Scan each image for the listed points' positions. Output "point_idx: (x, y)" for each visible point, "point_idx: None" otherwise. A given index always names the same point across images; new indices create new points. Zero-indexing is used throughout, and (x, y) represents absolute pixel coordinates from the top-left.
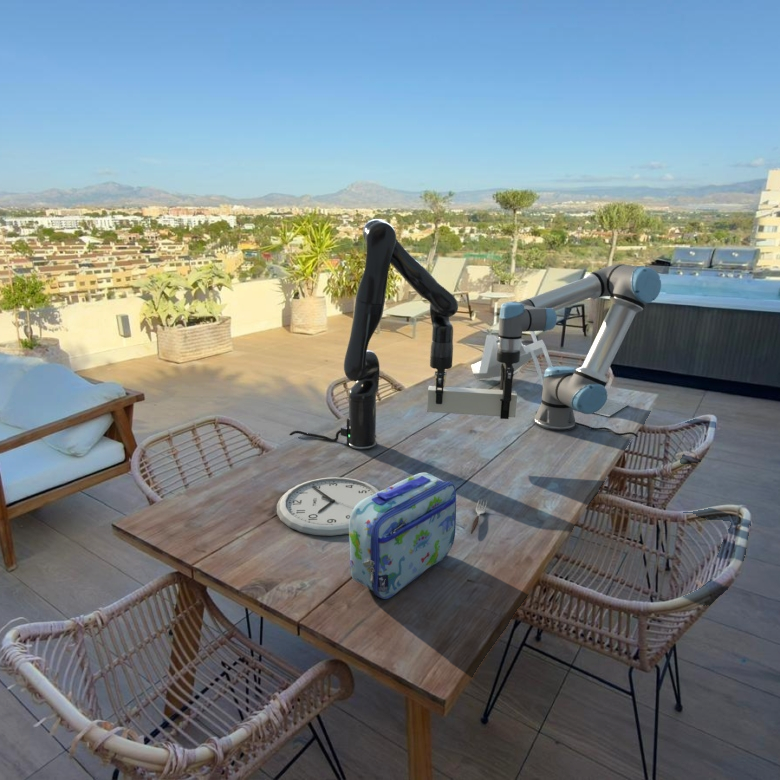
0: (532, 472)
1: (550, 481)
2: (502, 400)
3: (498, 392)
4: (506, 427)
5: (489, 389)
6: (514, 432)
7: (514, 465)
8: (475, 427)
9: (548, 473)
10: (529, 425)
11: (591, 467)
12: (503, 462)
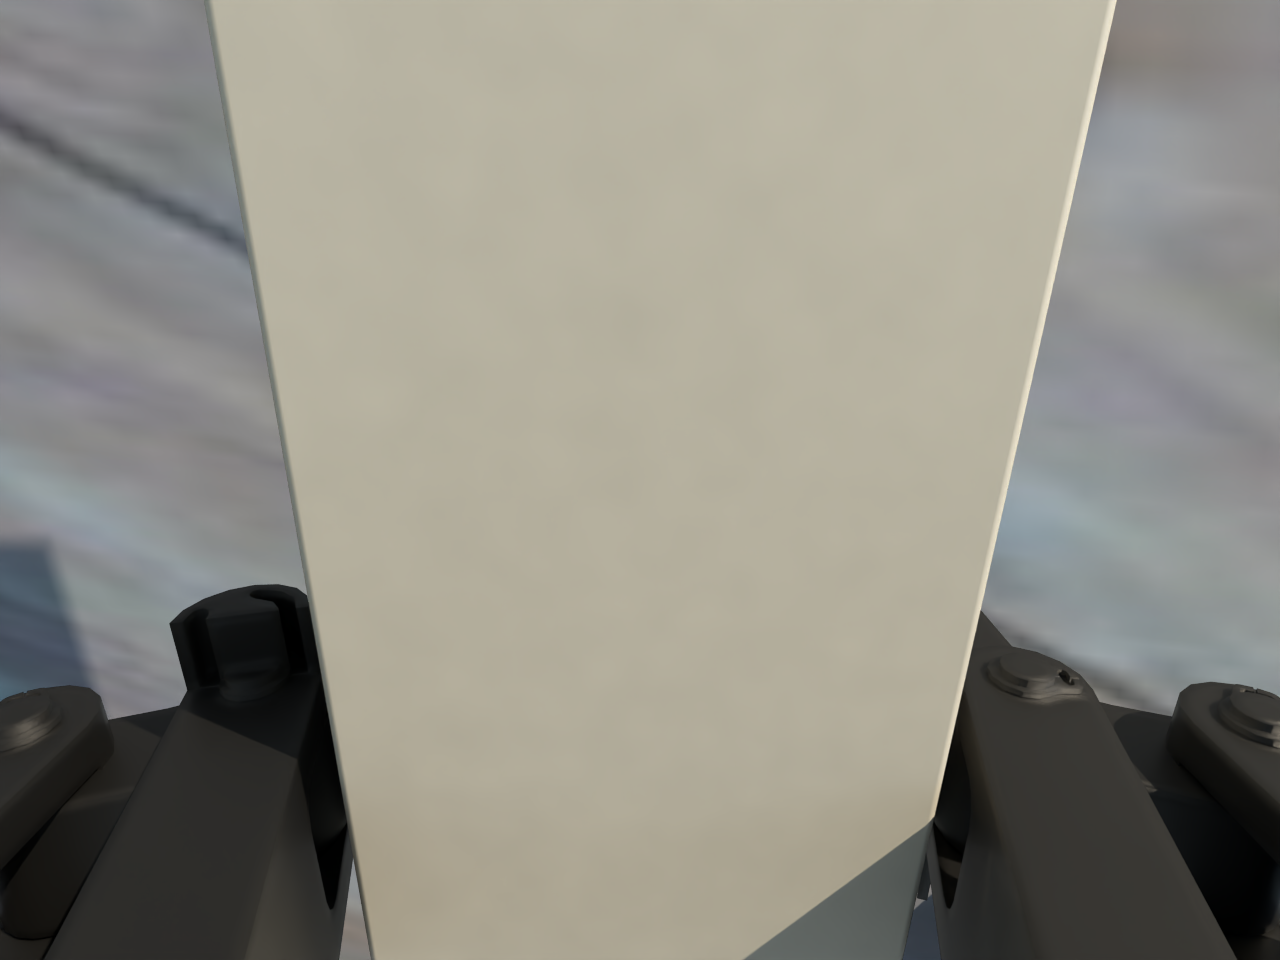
0: (129, 581)
1: (23, 678)
2: (207, 658)
3: (555, 658)
4: (1141, 483)
5: (1023, 272)
6: (998, 543)
7: (213, 458)
8: (1180, 124)
9: (159, 686)
10: (1169, 689)
11: (363, 935)
12: (245, 367)
